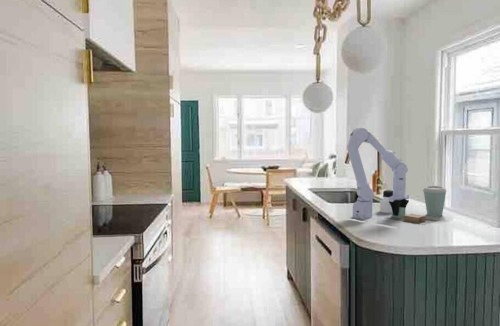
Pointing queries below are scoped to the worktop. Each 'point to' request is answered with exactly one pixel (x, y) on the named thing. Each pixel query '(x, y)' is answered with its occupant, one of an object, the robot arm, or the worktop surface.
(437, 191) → the disposable coffee cup
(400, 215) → the green cube
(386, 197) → the medicine bottle
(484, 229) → the worktop surface
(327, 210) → the worktop surface
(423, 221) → the stacking base
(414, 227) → the worktop surface
